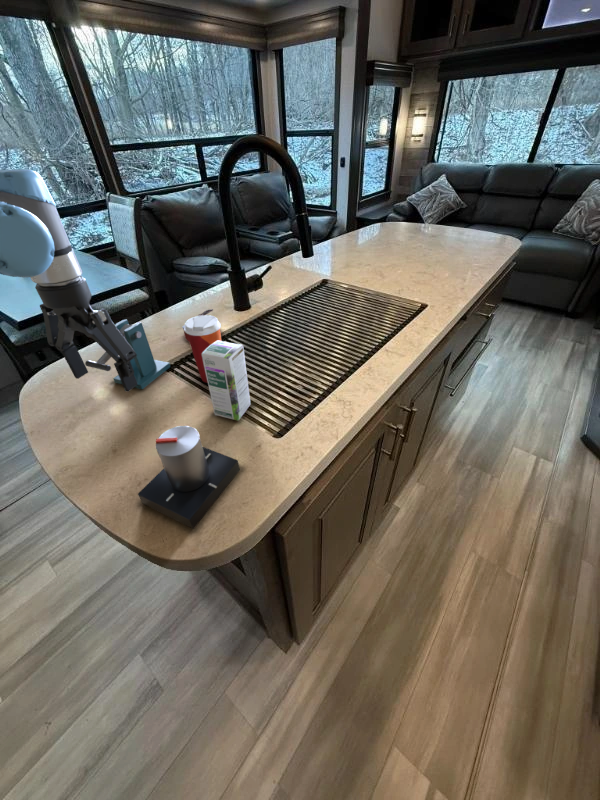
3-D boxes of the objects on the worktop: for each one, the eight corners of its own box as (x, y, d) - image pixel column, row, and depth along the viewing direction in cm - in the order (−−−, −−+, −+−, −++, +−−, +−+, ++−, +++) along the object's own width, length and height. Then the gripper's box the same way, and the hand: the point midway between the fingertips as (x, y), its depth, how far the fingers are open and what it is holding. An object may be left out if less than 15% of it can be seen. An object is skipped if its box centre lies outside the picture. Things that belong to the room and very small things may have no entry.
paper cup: (226, 386, 75) (215, 329, 66) (192, 386, 75) (177, 329, 67) (232, 367, 81) (223, 313, 73) (201, 367, 81) (188, 313, 73)
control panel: (193, 529, 48) (189, 519, 46) (141, 503, 51) (136, 493, 50) (240, 470, 56) (238, 459, 54) (193, 451, 60) (189, 440, 58)
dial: (211, 460, 55) (201, 422, 49) (206, 490, 50) (195, 452, 45) (174, 462, 54) (160, 425, 49) (166, 493, 49) (149, 456, 44)
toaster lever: (109, 374, 67) (102, 366, 65) (89, 369, 68) (82, 361, 67) (144, 334, 73) (139, 326, 71) (125, 330, 75) (119, 322, 73)
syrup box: (213, 415, 67) (199, 353, 58) (228, 398, 71) (216, 338, 62) (238, 421, 66) (227, 358, 57) (252, 404, 70) (243, 343, 61)
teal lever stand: (142, 389, 74) (122, 338, 66) (114, 382, 77) (92, 332, 69) (170, 366, 82) (155, 318, 74) (144, 361, 84) (127, 313, 76)
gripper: (-13, 278, 57) (47, 379, 70) (97, 296, 50) (140, 404, 63) (28, 266, 63) (77, 361, 76) (133, 280, 56) (166, 383, 69)
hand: (106, 381), depth 70 cm, fingers open, 13 cm apart
